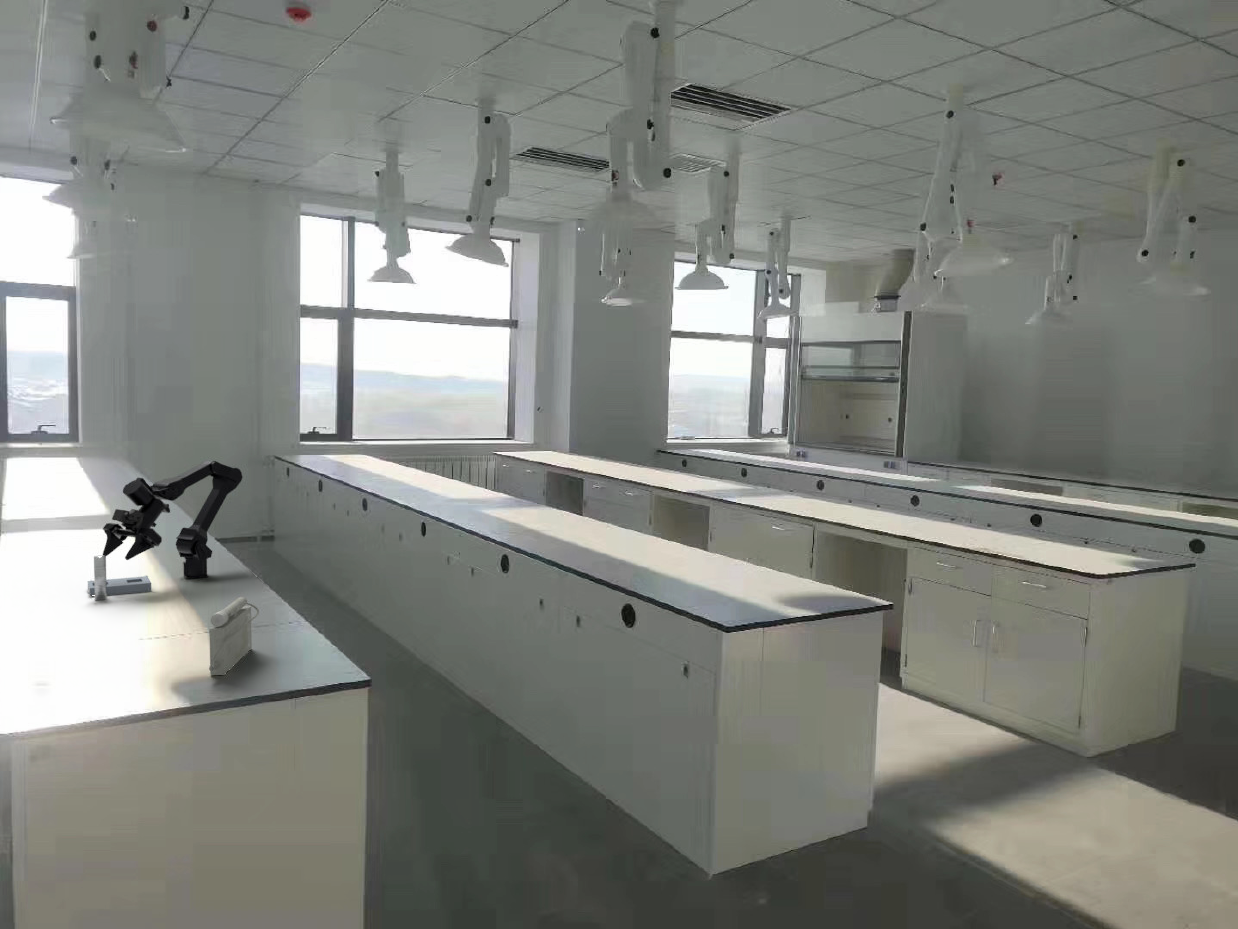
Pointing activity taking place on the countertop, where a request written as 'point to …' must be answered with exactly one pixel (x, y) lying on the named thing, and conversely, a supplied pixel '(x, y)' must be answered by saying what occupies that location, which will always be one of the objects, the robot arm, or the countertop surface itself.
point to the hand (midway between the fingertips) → (114, 557)
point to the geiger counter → (230, 635)
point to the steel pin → (100, 577)
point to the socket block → (123, 585)
